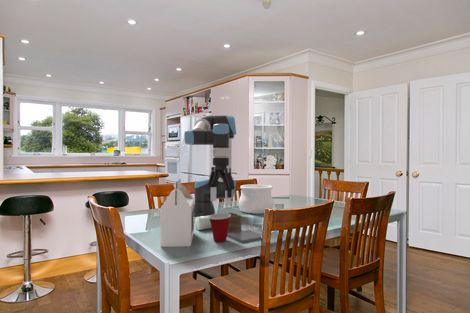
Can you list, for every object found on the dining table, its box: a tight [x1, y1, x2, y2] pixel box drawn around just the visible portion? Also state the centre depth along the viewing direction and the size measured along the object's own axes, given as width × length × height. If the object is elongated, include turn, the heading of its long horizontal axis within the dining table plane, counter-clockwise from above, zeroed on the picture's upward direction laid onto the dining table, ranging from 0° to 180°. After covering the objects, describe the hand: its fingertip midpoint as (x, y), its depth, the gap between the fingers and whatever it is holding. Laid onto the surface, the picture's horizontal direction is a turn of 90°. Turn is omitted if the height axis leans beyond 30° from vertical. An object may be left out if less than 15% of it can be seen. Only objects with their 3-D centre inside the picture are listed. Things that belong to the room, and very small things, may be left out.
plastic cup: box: [208, 213, 231, 243], centre depth 146 cm, size 11×11×12 cm
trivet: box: [227, 229, 262, 244], centre depth 152 cm, size 14×14×1 cm
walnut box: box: [226, 212, 243, 233], centre depth 165 cm, size 9×9×8 cm
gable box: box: [160, 178, 195, 248], centre depth 147 cm, size 22×13×28 cm, turn 4°
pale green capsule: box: [194, 215, 212, 231], centre depth 167 cm, size 9×7×7 cm
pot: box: [238, 183, 275, 215], centre depth 217 cm, size 26×24×18 cm
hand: (220, 202), depth 145 cm, fingers open, 13 cm apart
